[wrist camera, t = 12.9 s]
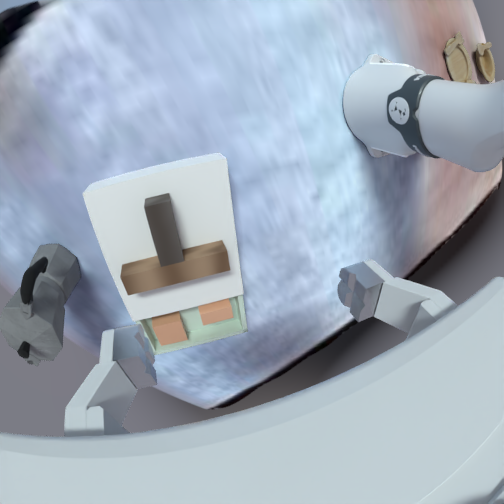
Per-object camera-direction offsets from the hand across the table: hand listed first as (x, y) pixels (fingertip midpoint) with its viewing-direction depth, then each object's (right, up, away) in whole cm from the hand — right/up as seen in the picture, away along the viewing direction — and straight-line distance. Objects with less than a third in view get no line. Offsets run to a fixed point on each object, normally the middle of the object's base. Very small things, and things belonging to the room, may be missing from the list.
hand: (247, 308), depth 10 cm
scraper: (-11, +4, +24) cm, 26 cm away
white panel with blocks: (-12, +5, +28) cm, 31 cm away
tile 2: (-14, -12, +34) cm, 38 cm away
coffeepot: (-30, +1, +24) cm, 39 cm away
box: (-11, -9, +37) cm, 39 cm away
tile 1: (-6, -6, +33) cm, 34 cm away
